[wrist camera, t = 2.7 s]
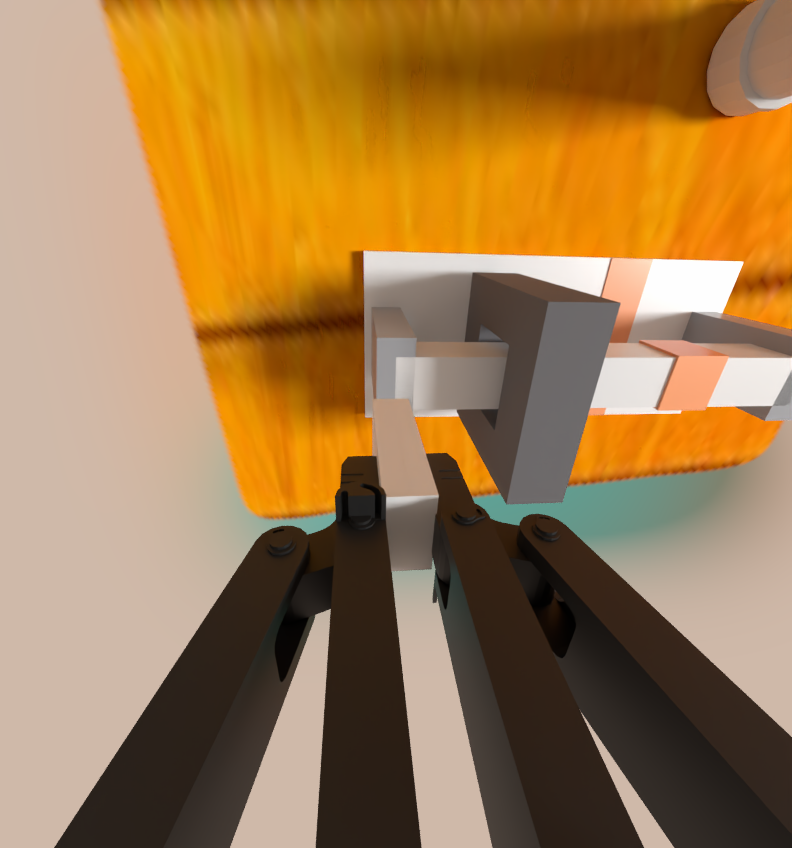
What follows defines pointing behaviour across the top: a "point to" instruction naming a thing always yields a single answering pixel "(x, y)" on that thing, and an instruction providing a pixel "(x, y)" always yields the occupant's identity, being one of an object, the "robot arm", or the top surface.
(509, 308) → the collar
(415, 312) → the rail
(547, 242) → the top surface
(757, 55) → the pipe
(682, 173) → the top surface
